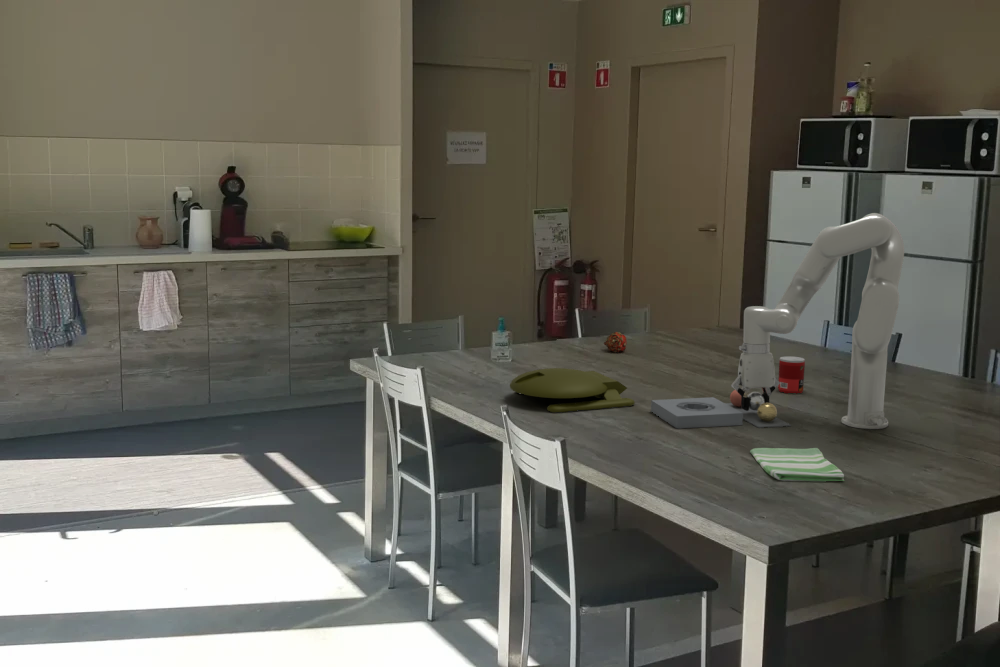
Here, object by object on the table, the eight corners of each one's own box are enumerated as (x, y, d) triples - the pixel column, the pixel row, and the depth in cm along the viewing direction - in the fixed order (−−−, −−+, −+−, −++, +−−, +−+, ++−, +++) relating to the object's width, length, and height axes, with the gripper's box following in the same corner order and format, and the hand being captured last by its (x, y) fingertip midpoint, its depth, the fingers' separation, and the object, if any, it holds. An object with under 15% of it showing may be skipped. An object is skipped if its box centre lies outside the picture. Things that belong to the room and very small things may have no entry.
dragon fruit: (616, 358, 395) (611, 357, 407) (634, 345, 395) (628, 344, 407) (603, 340, 395) (599, 340, 407) (621, 327, 395) (616, 327, 407)
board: (742, 424, 290) (742, 413, 289) (676, 428, 285) (677, 416, 285) (712, 408, 309) (713, 397, 308) (650, 411, 305) (651, 400, 304)
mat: (791, 426, 289) (791, 424, 289) (758, 427, 286) (758, 426, 286) (746, 403, 316) (746, 402, 316) (716, 405, 313) (716, 403, 313)
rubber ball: (751, 408, 308) (752, 390, 307) (734, 409, 306) (735, 391, 305) (743, 404, 313) (743, 386, 312) (726, 405, 312) (727, 387, 311)
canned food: (804, 394, 328) (806, 361, 327) (778, 393, 330) (780, 360, 328) (802, 389, 336) (804, 356, 334) (777, 388, 337) (778, 355, 336)
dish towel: (819, 455, 261) (820, 445, 261) (847, 484, 238) (848, 473, 238) (749, 454, 262) (750, 444, 262) (770, 483, 239) (771, 471, 238)
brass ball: (780, 423, 290) (781, 404, 289) (762, 424, 289) (763, 405, 288) (770, 418, 296) (771, 400, 295) (753, 419, 294) (754, 400, 293)
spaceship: (593, 386, 340) (593, 358, 338) (637, 407, 311) (638, 376, 310) (495, 394, 327) (495, 364, 326) (532, 417, 299) (533, 384, 297)
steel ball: (768, 411, 298) (768, 393, 298) (750, 412, 297) (751, 394, 296) (759, 407, 304) (759, 389, 303) (742, 408, 303) (742, 390, 302)
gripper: (734, 352, 292) (733, 414, 295) (789, 349, 296) (787, 409, 299) (723, 348, 299) (722, 408, 302) (777, 345, 303) (775, 404, 306)
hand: (755, 408), depth 300 cm, fingers closed on steel ball, 5 cm apart
